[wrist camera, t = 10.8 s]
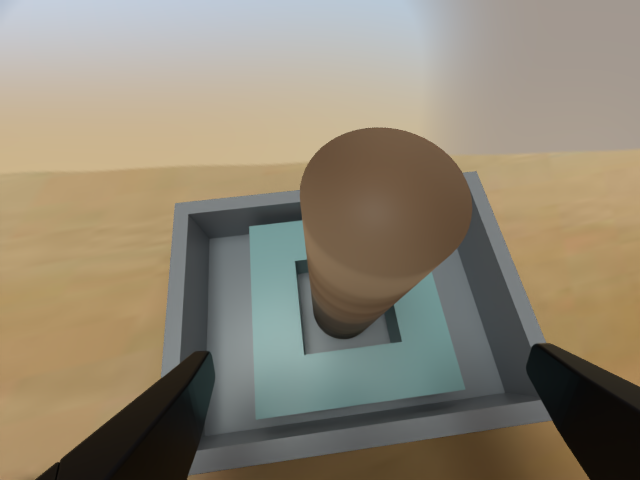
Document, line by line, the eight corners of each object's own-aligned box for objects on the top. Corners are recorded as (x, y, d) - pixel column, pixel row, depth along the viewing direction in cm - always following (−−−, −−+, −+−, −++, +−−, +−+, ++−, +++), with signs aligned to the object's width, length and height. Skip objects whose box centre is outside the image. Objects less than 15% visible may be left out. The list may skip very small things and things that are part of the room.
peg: (356, 350, 17) (439, 309, 5) (302, 321, 18) (267, 224, 6) (381, 296, 18) (491, 163, 7) (329, 270, 19) (345, 107, 7)
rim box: (519, 406, 16) (576, 416, 13) (192, 454, 16) (152, 480, 12) (449, 204, 22) (476, 171, 18) (200, 232, 21) (175, 203, 17)
